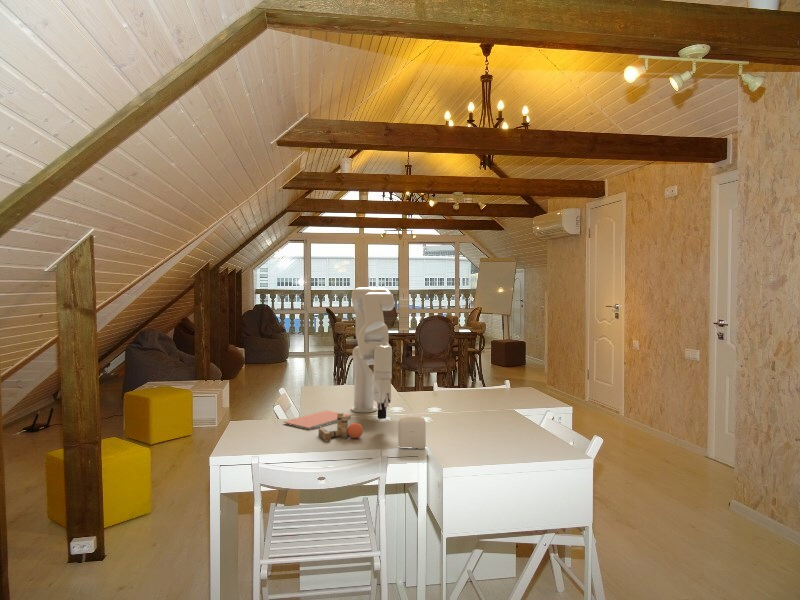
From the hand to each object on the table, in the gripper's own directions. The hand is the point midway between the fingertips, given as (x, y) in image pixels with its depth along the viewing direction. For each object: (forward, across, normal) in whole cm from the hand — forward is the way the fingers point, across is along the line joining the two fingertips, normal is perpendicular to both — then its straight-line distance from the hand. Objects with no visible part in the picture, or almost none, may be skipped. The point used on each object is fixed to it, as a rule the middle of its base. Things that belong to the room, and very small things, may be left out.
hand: (381, 418), depth 223 cm
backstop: (+5, +1, -25) cm, 26 cm away
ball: (+2, +6, -14) cm, 15 cm away
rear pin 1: (+5, -2, -18) cm, 19 cm away
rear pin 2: (+5, +4, -18) cm, 19 cm away
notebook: (+7, -26, -19) cm, 33 cm away
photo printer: (+5, +26, +1) cm, 27 cm away
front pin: (+4, +1, -15) cm, 15 cm away
